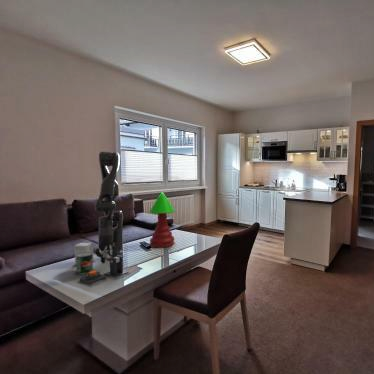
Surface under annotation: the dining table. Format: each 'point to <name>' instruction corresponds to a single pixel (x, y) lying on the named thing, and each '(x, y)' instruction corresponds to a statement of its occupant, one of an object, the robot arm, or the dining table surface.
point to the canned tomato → (84, 262)
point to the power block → (92, 278)
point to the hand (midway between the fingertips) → (106, 261)
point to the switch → (114, 257)
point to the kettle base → (116, 267)
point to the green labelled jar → (83, 249)
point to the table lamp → (162, 223)
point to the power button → (92, 272)
